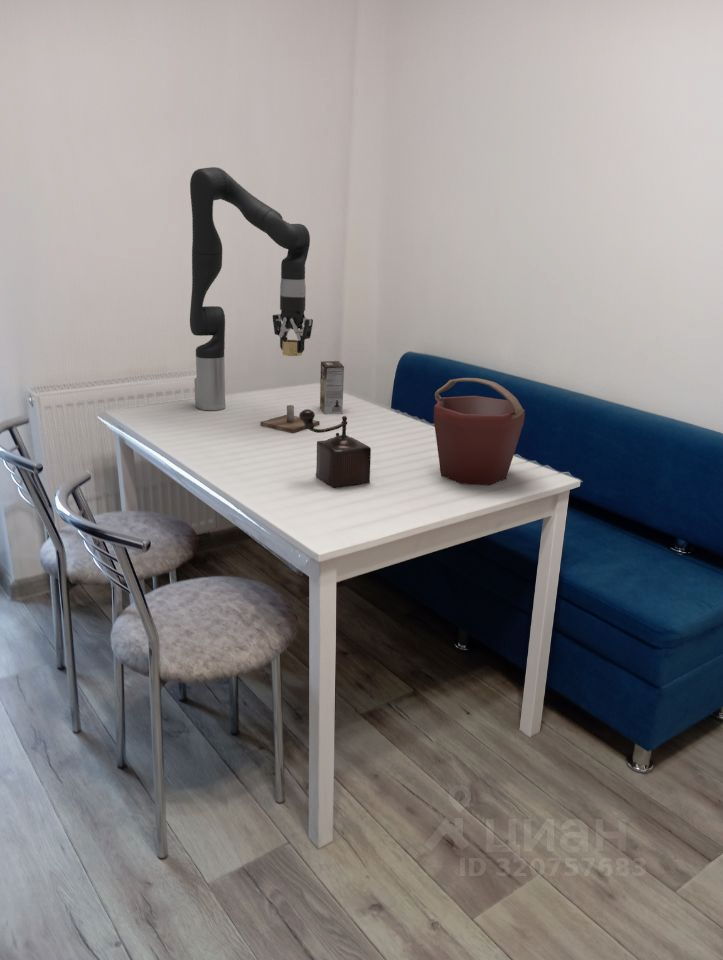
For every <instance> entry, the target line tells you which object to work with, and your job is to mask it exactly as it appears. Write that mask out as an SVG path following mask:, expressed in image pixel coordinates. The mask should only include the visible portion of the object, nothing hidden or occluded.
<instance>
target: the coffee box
mask: <svg viewBox="0 0 723 960" xmlns="http://www.w3.org/2000/svg"><path fill="white" fill-rule="evenodd" d="M344 375H345V366H344V365H343V364H342V363H341V362H340V361H339V360H334V361H331V360H329V361H328V360H327V361H325V360H324V361H322V360H321V361H320V389H319V391H320V393H319V408H320V410H321V411H322V412H323V413H324V414H325V415H331V414H332V415H334V414H335V415H337V414H342V415H343V407H344V404H343V403H344V402H343V401H344V381H345V380H344V379H345V378H344V377H345V376H344Z"/></svg>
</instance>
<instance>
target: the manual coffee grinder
mask: <svg viewBox="0 0 723 960" xmlns="http://www.w3.org/2000/svg"><path fill="white" fill-rule="evenodd" d="M298 417H300V420H301V421H302V422H303V423H304V429H305V430H309V431H310V432H313V433H319V434H321V433H327V432H331V431H335V430H338V429H340V428H342V430H341V431H342V432H341V434H340V433H339V432H336V433H335V436H334V437H330V438H328V439H325V440H318V441H316V471H315V477H317V479H319V480H320V481H321V482H323V483H324V484H325V485H327V486H329V487H331V488H333V489H339V488H340V489H341V488H347V487H353V486H360V485H364V484H369V483H370V481H371V480H370V479H371V457H372V455H371V453H372V449H371V447H370V446H368V445H367V444H365V443H363V442H362V441H360V440H359V439H356V438H354V437H352V436H349V435H347V434H346V433H347V425H348V421H347V420H348V417H347V416H346V415H343V416H341V423H339V424H337V425H334V426H330V427H326V428H321V429H319V428H315V427H316V426H315V425H314V423H313V420H314V419H315V417H316V415H315V412H314V411H313V410H312V409H310V408H309V409H303V410H302V411H301V412H299V415H298Z"/></svg>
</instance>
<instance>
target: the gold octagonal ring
mask: <svg viewBox="0 0 723 960" xmlns="http://www.w3.org/2000/svg"><path fill="white" fill-rule="evenodd" d="M297 341H298V339H287V340H282V350H281V351H282V355H283V356H287V357H300V356H302V355H303V352H302V353H297Z"/></svg>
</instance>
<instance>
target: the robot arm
mask: <svg viewBox="0 0 723 960" xmlns="http://www.w3.org/2000/svg"><path fill="white" fill-rule="evenodd" d="M189 190H190V191H189V192H190V202H191V203H190V204H191V214H192V215H191V217H192V223H191V224H192V247H191V273H192V274H191V279H192V280H191V299H190V308H189V310H190V311H189V327H190V331H191V333H192V334H193V336H196V337H197V336H200V337H201V336H205V337H206V336H212V337H211V338H210V340H208V341H207V342H206V343H204V344H203V343H202V344H200V345H198V346H197V347H196V348H195V367H196V368H195V369H196V372H195V373H196V378H194V379H193V380H194V406H195V407H196V408H197V409H198V410H203V411H222V410H223V409H225V408H226V375H225V374H226V373H225V372H226V371H225V370H226V369H225V367H226V366H225V364H226V363H225V349H226V348H225V346H226V345H225V342H226V341H225V340H226V338H225V335H226V315H225V311H224V309H223V308H222V307H221V306H219V305H218V306H214V305H213V306H211V305H209V306H203V305H204V301H205V297H206V295H207V293H208V291H209V289H210V287H211V286H212V284H213V283H214V282H215V280H216V279H217V277H218V276H219V274H220V272H221V270H222V267H223V244H222V239H221V237H220V235H219V233H218V230H217V228H216V225H215V223H214V214H213V213H214V209H213V208H214V202H215V201H217V200H222V201H223V202H224V201H225V202H227V203H229V204H231V205H233V206H234V207H235V208H236V209H238V210H239V211H240V213H241V214H242V215H243V218H245V220H246V221H248V222H249V224H251V225H252V226H253V227H256V229H259V230H260V231H261V232H263V233H265V234H267V236H269V238H270V239H272V241H273V242H274V243H275V244H277V245H278V246H280V247H282V249H286V250H288V251H287V253H286V257H284V258H282V261H281V265H280V271H281V272H280V275H281V276H280V285H279V286H280V287H279V291H280V292H279V310H280V313H277V314H272V316H271V317H272V323H273V331H274V335H276V336H278V337H279V347H280V349H281V351H282V340H288V335H289V333H290V332H289V331H291V330H293V332H294V333H295V336H296V338H297V339H296V340H298V341H297V353H302V354H303V352H304V351H305V342H306V341H305V340H307V339H308V340H309V339H311V335H312V330H313V323H314V319H312V318H307V317H306V316H305V311H306V292H307V291H306V289H307V288H306V262H307V258H308V254H309V249H310V244H311V237H310V232H309V229H308V228H307V226H306V225H305V224H302V223H290V222H287V221H286V220H284V219H283V216H282V214H281V213H280V212H278V211H277V210H276V209H275V208H272V207H271V206H270V205H267V204H266V203H264V202H263V201H261V200H260V199H259V198H257V197H256V196H254V195H253V194H251V192H249V191H248V190H247V189H245V188H244V187H243V186H242V185H241V184H240V183H238V181H236V180H235V179H234V178H233V177H232V176H231V175H230V174H229V173H227V172H226V171H225V170H224V169H222V168H221V167H217V166H215V167H213V166H211V167H204V168H198V169H196V170H194V171H193V172H192V174H191V177H190V182H189ZM195 407H194V408H195Z"/></svg>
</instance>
